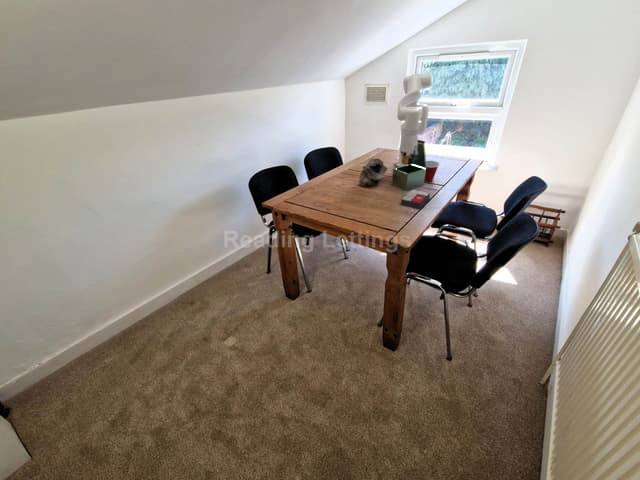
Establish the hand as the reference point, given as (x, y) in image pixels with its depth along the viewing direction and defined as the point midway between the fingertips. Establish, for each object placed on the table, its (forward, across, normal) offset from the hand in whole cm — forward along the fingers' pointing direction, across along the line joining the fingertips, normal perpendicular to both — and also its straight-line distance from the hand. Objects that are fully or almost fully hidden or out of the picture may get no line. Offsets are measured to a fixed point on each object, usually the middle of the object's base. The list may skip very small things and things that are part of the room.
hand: (407, 162), depth 175 cm
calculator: (+15, +21, -13) cm, 29 cm away
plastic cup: (+15, +3, +18) cm, 24 cm away
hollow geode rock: (+15, -19, -10) cm, 26 cm away
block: (0, 0, 0) cm, 0 cm away
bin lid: (-4, 0, +8) cm, 8 cm away
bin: (+15, 0, +3) cm, 15 cm away
